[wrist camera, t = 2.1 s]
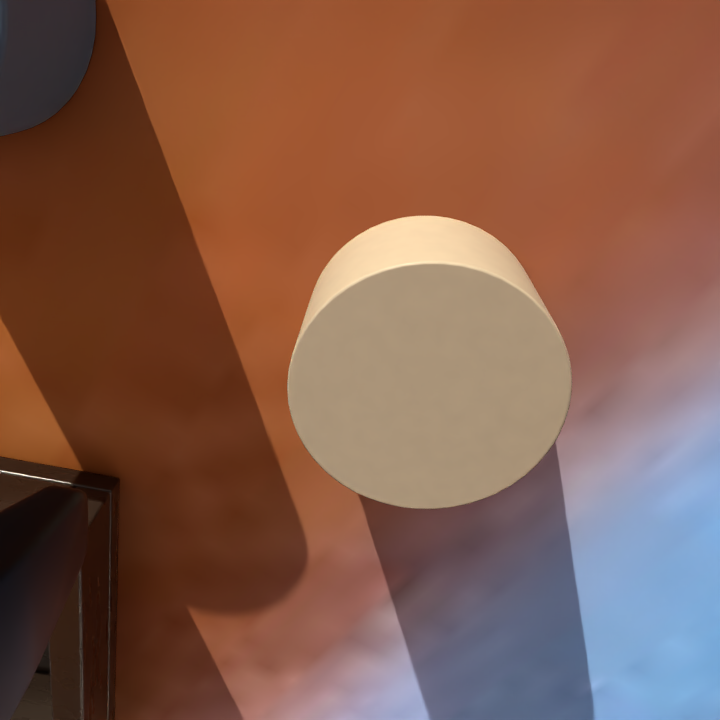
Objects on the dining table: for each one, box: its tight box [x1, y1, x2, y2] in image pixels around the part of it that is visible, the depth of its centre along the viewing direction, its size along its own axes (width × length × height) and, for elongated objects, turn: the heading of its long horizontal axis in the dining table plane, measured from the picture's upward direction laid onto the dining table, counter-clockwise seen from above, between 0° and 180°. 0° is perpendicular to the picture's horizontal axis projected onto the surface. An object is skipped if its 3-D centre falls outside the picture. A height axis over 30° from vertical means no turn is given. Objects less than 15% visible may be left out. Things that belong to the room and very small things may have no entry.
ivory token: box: [287, 216, 572, 509], centre depth 13 cm, size 5×5×3 cm
